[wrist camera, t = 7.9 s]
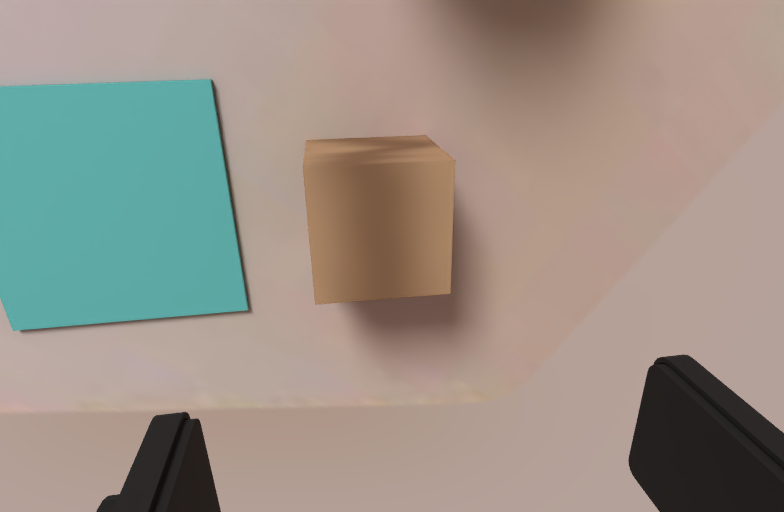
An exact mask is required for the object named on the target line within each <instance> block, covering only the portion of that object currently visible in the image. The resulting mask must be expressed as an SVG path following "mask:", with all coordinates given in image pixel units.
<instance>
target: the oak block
mask: <svg viewBox="0 0 784 512" xmlns="http://www.w3.org/2000/svg"><path fill="white" fill-rule="evenodd" d="M303 174H304V185H305V196H306V207H307V219H308V230H309V241H310V252H311V263H312V274H313V286H314V297H315V305H316V304H329V303H341V302H354V301H366V300H379V299H391V298H403V297H416V296H428V295H441V294H451V265H452V236H453V207H454V178H455V160H454V159H453V158H452V157H451V156H449V155H448V154H447V153H446V152H445V151H444V150H442V149H441V148H440V147H439V146H438V145H436V144H435V143H434V142H433V141H432V140H431V139H429V138H428V137H427V136H426V135H420V136H396V137H371V138H347V139H322V140H306V146H305V155H304V163H303Z"/></svg>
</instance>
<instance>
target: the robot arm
mask: <svg viewBox="0 0 784 512" xmlns="http://www.w3.org/2000/svg"><path fill="white" fill-rule="evenodd" d="M629 467H630V470H631V472H632V474H633V476H634V478H635V479H636V480H637V482H638V483H639V484H640V486H641V487H642V488H643V490H644V491H645V493H646V494H647V495H648V497H649V498H650V499H651V500H652V502H653V503H654V505H655V506H656V507H657V509H658V510H659V511H660V512H784V433H783V432H782V431H780V430H779V429H778V428H776V427H775V426H774V425H773V424H772V423H771V422H769V421H768V420H767V419H766V418H765V417H763V416H762V415H761V414H760V413H758V412H757V411H756V410H755V409H754V408H752V407H751V406H750V405H749V404H748V403H746V402H745V401H744V400H743V399H741V398H740V397H739V396H738V395H737V394H735V393H734V392H733V391H732V390H731V389H729V388H728V387H727V386H726V385H724V384H723V383H722V382H721V381H720V380H718V379H717V378H716V377H715V376H714V375H712V374H711V373H710V372H709V371H707V370H706V369H705V368H704V367H703V366H701V365H700V364H699V363H698V362H697V361H695V360H694V359H693V358H691V357H690V356H688V355H676V356H668V357H660V358H657V360H656V361H655V362H654V365H652V366H651V367H650V368H649V370H648V373H647V377H646V382H645V387H644V391H643V396H642V400H641V405H640V409H639V414H638V418H637V423H636V427H635V432H634V436H633V441H632V446H631V450H630V455H629ZM97 512H221V511H220V506H219V502H218V497H217V494H216V489H215V485H214V480H213V476H212V471H211V467H210V463H209V458H208V454H207V450H206V445H205V441H204V436H203V432H202V428H201V424H200V421H199V419H190V416H189V414H188V413H187V412H182V413H173V414H164V415H156V416H155V417H154V418H153V419H152V421H151V423H150V425H149V428H148V430H147V432H146V435H145V437H144V439H143V442H142V444H141V446H140V449H139V451H138V453H137V456H136V458H135V460H134V463H133V465H132V467H131V469H130V472H129V474H128V476H127V479H126V481H125V483H124V486H123V488H122V490H121V493H120V494H118V495H111V496H108V497H106V498H105V499H104V500H103V501H102V503H101V505H100V506H99V508H98V509H97Z"/></svg>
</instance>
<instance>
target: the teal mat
mask: <svg viewBox="0 0 784 512" xmlns="http://www.w3.org/2000/svg"><path fill="white" fill-rule="evenodd" d="M0 298H1V301H2V304H3V306H4V309H5V311H6V314H7V316H8V319H9V322H10V324H11V327H12V329H13V331H16V330H28V329H39V328H50V327H62V326H73V325H85V324H96V323H108V322H119V321H130V320H142V319H153V318H165V317H176V316H188V315H199V314H211V313H222V312H233V311H245V310H248V308H249V307H248V301H247V295H246V289H245V283H244V277H243V270H242V264H241V258H240V252H239V246H238V240H237V233H236V227H235V221H234V215H233V209H232V202H231V196H230V190H229V184H228V178H227V172H226V165H225V159H224V153H223V147H222V141H221V134H220V128H219V122H218V116H217V110H216V104H215V97H214V91H213V85H212V79H206V80H177V81H148V82H119V83H90V84H61V85H32V86H3V87H0Z"/></svg>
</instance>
